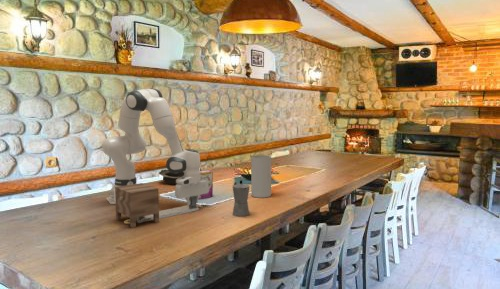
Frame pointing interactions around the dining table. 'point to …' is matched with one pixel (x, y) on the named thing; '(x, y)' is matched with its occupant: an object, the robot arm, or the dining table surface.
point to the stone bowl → (170, 176)
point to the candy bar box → (208, 175)
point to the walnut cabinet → (137, 202)
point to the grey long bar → (172, 211)
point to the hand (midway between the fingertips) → (192, 203)
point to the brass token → (127, 221)
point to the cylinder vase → (261, 176)
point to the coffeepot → (240, 199)
